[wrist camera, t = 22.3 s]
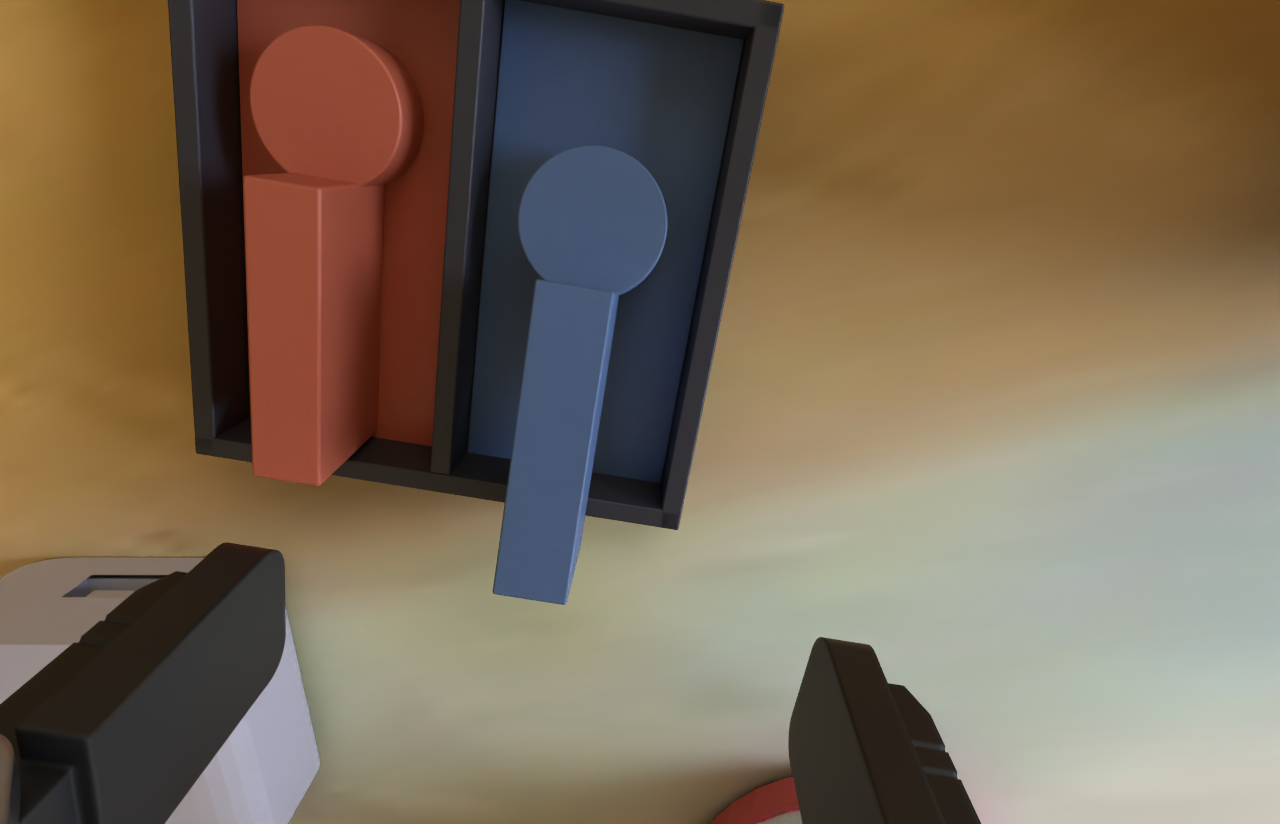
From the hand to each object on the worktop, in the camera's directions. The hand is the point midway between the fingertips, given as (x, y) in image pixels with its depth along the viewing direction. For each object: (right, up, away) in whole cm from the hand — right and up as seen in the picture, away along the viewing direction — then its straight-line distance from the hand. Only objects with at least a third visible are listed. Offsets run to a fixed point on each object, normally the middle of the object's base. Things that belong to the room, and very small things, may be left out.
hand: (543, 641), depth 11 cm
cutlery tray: (-3, +8, +10) cm, 14 cm away
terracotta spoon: (-7, +8, +10) cm, 14 cm away
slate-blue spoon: (0, +5, +10) cm, 11 cm away
